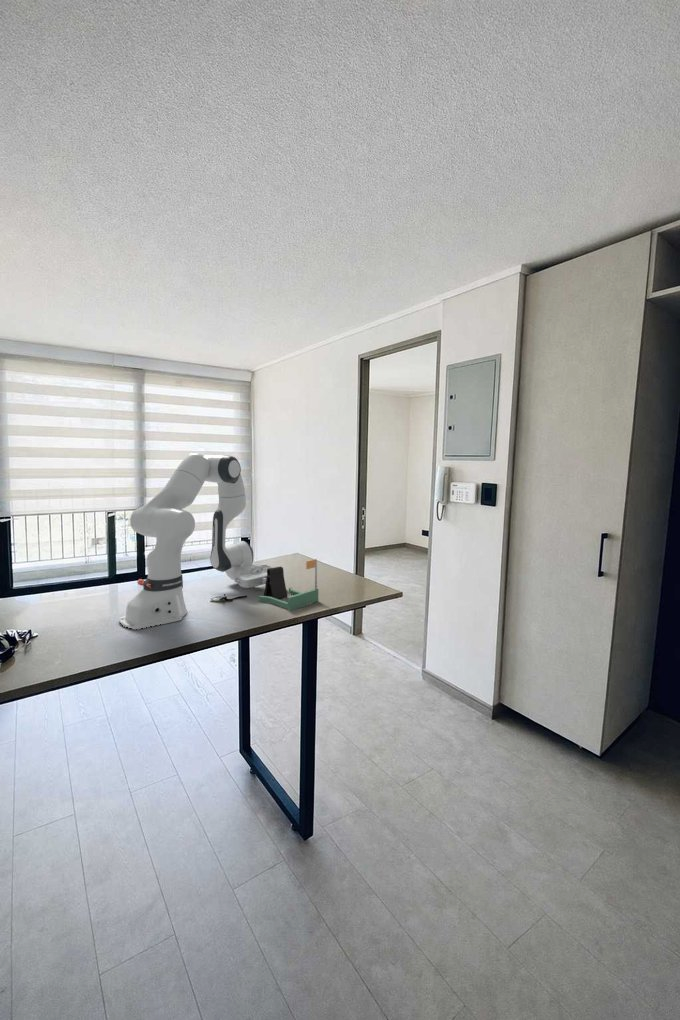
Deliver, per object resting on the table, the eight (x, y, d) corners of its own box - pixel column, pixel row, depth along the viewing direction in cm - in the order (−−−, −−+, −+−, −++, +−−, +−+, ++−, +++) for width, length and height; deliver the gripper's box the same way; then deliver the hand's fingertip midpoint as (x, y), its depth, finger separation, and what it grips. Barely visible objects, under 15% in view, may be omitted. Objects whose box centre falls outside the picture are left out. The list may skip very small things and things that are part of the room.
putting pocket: (287, 611, 164) (286, 566, 162) (257, 601, 176) (257, 559, 174) (320, 600, 177) (320, 558, 175) (290, 591, 188) (290, 552, 186)
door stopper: (287, 597, 180) (287, 568, 179) (274, 600, 177) (274, 571, 175) (276, 592, 187) (276, 564, 186) (263, 595, 184) (263, 566, 182)
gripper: (232, 573, 183) (252, 579, 174) (271, 564, 198) (292, 569, 189) (232, 587, 184) (253, 595, 175) (271, 578, 199) (292, 584, 190)
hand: (273, 581), depth 182 cm, fingers closed
